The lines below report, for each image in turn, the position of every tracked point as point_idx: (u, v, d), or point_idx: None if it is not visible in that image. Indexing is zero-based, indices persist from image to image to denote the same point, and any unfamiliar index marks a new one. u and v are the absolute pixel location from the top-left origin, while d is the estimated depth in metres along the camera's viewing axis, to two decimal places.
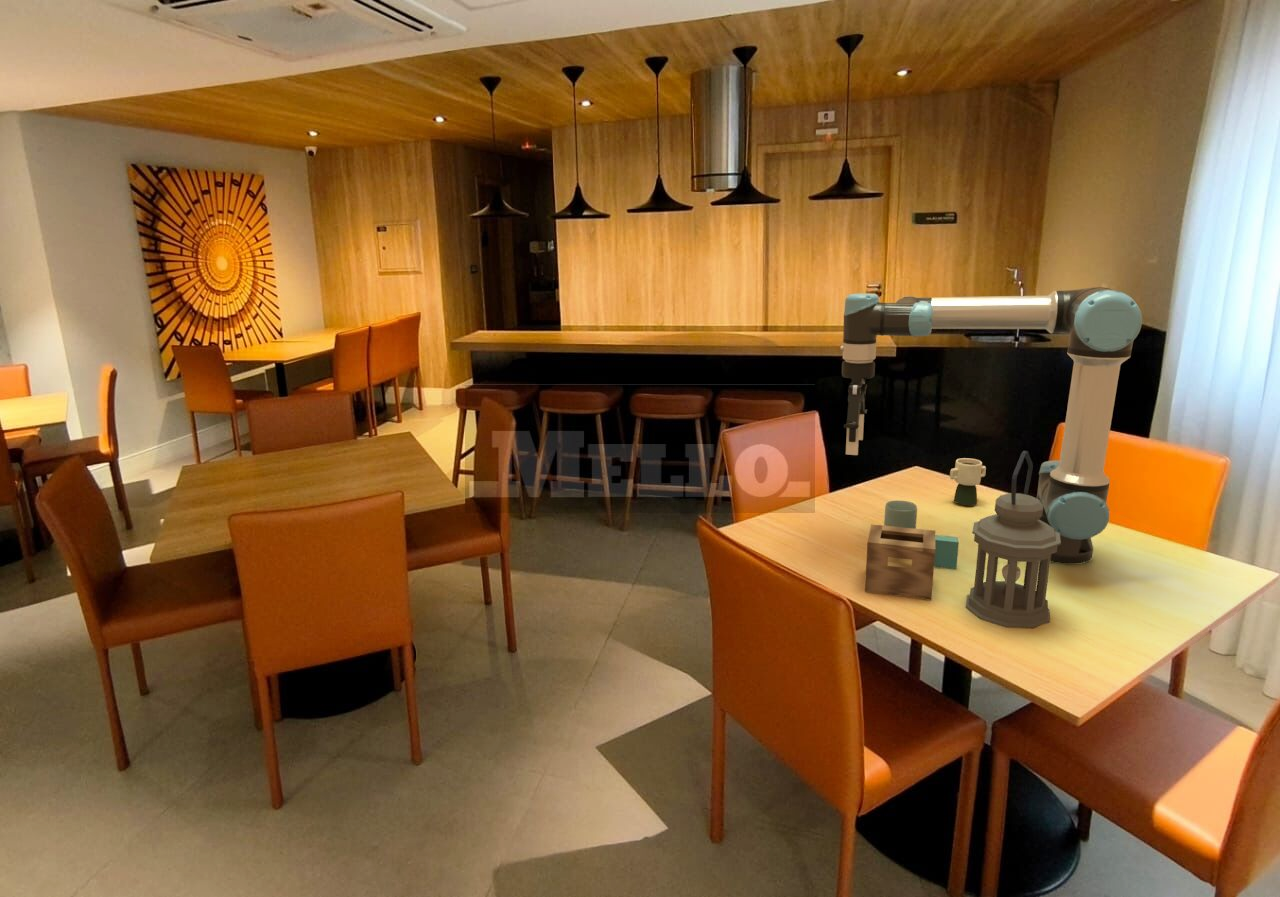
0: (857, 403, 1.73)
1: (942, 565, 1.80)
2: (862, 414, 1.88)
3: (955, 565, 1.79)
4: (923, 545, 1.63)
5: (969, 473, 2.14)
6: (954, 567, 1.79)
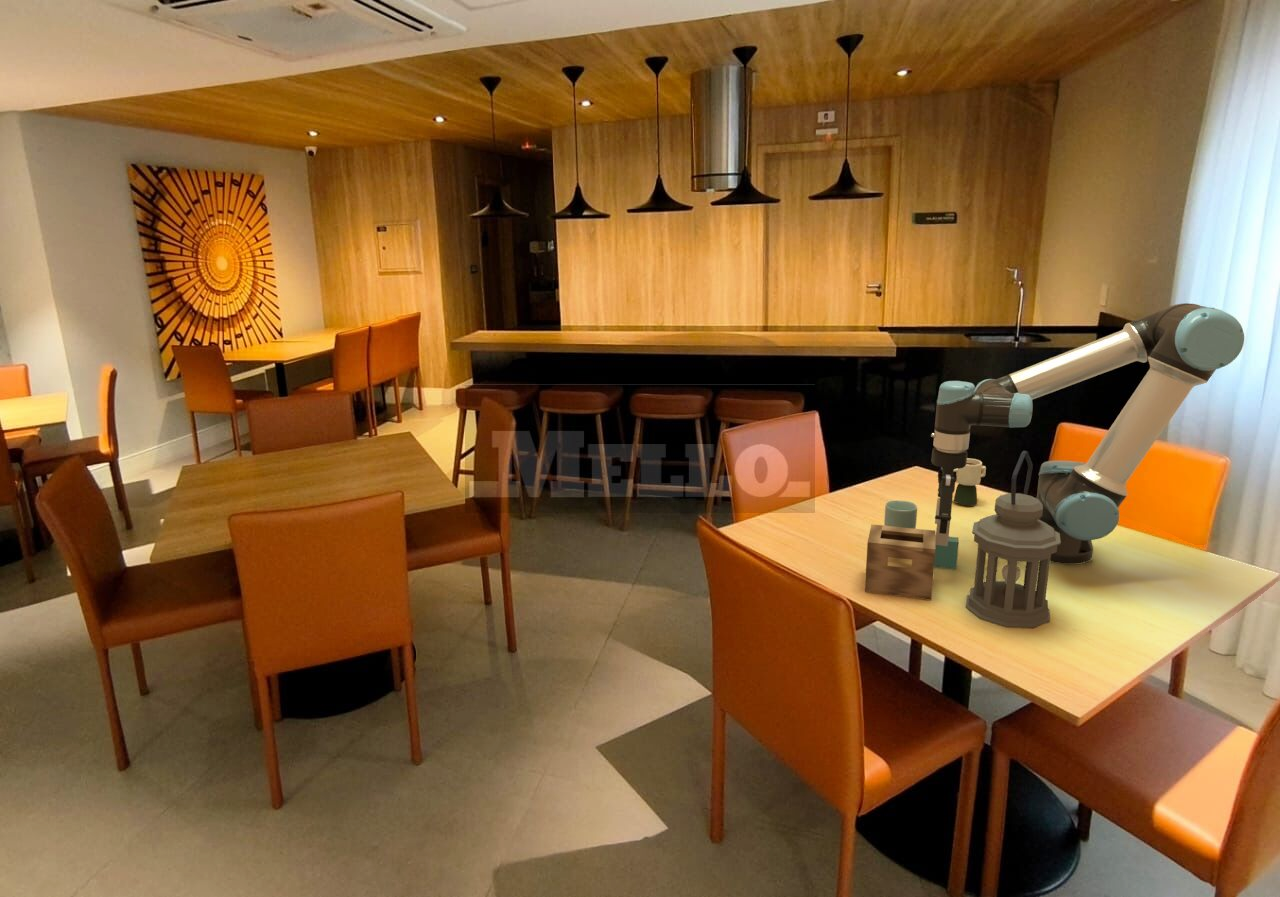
0: (950, 495, 1.68)
1: (942, 565, 1.80)
2: None
3: (955, 565, 1.79)
4: (923, 545, 1.63)
5: (969, 473, 2.14)
6: (954, 567, 1.79)
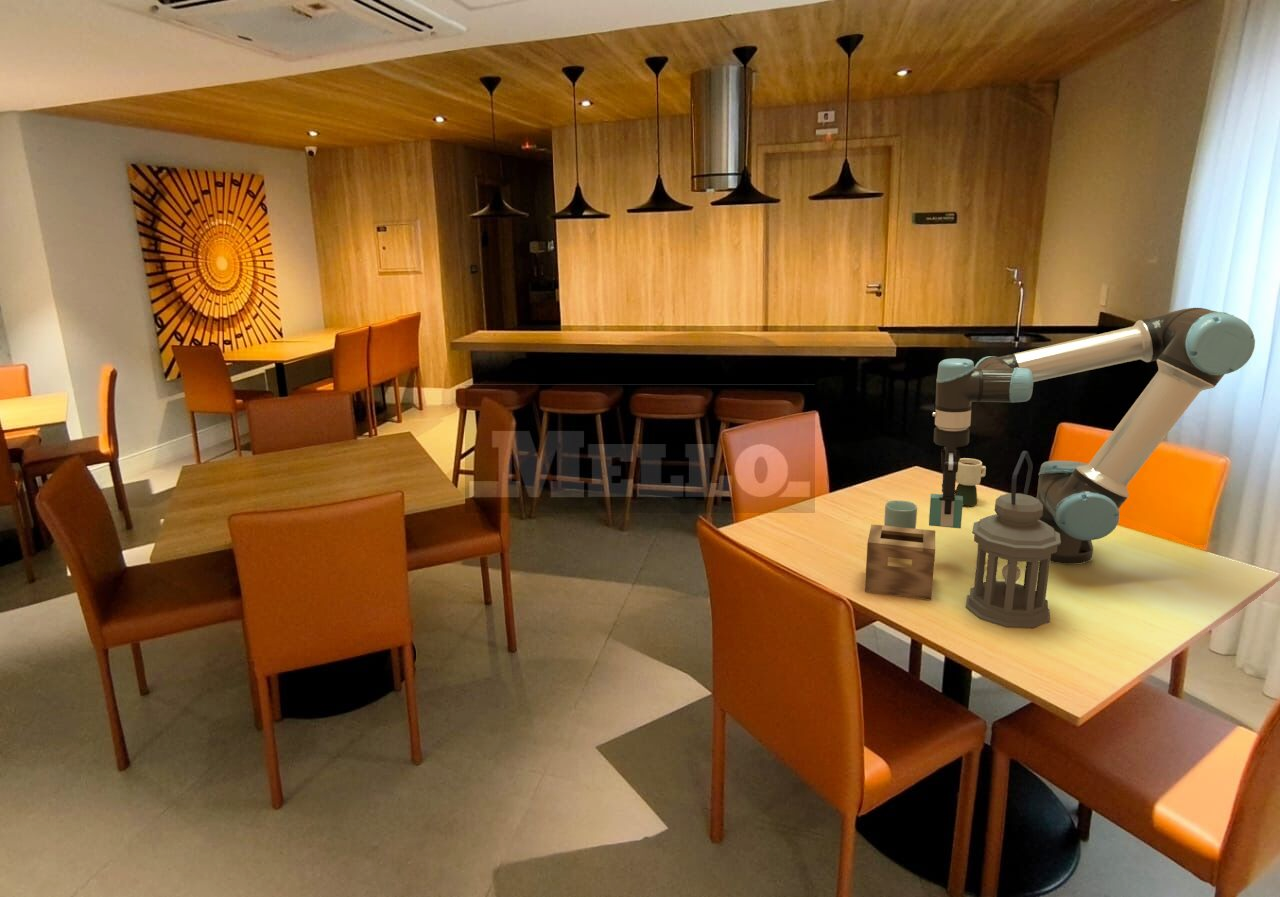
0: (953, 479, 1.69)
1: None
2: None
3: (959, 524, 1.76)
4: (923, 545, 1.63)
5: (969, 473, 2.14)
6: (958, 526, 1.76)
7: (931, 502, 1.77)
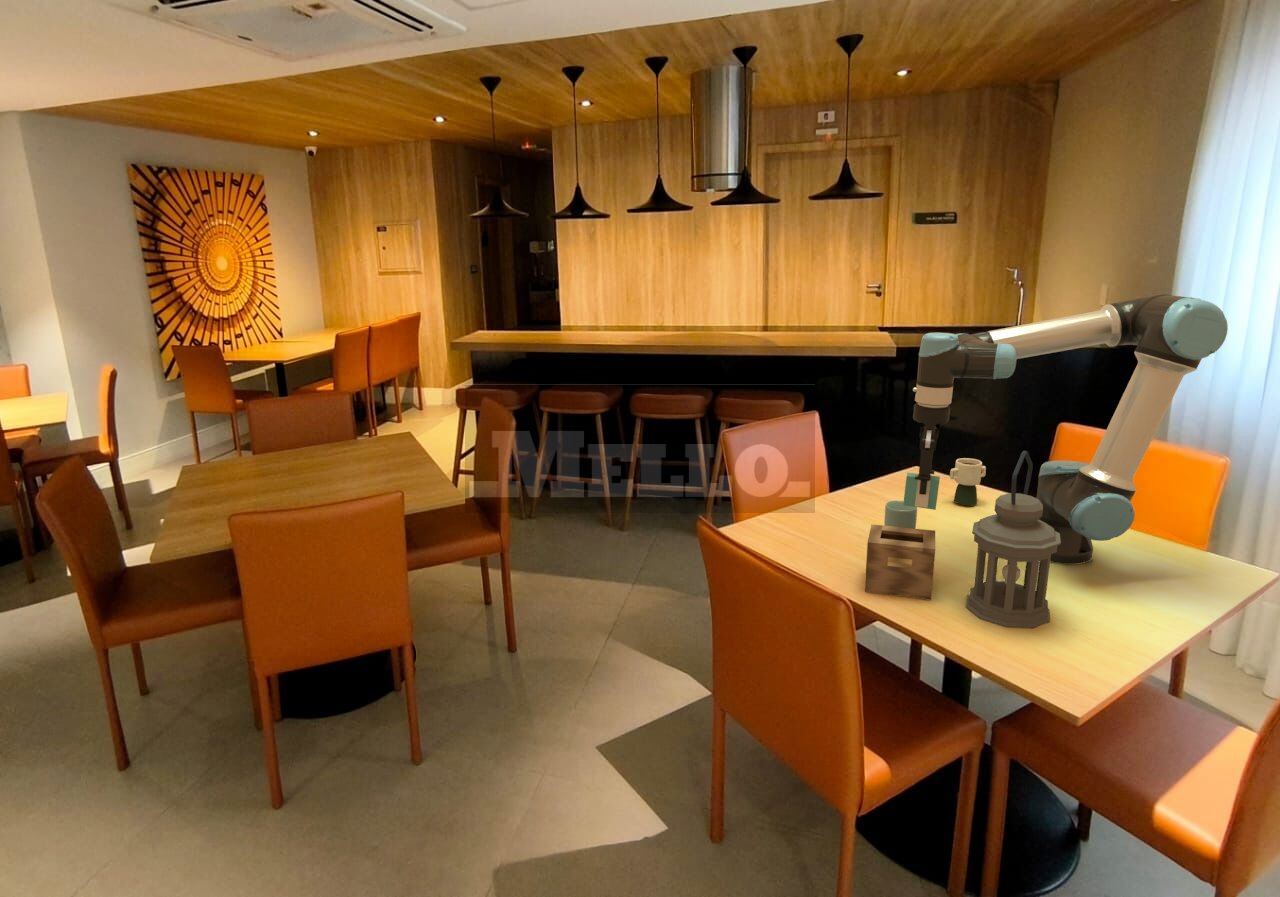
0: (930, 457, 1.63)
1: None
2: None
3: (934, 505, 1.70)
4: (923, 545, 1.63)
5: (969, 473, 2.14)
6: (933, 507, 1.70)
7: (907, 481, 1.71)
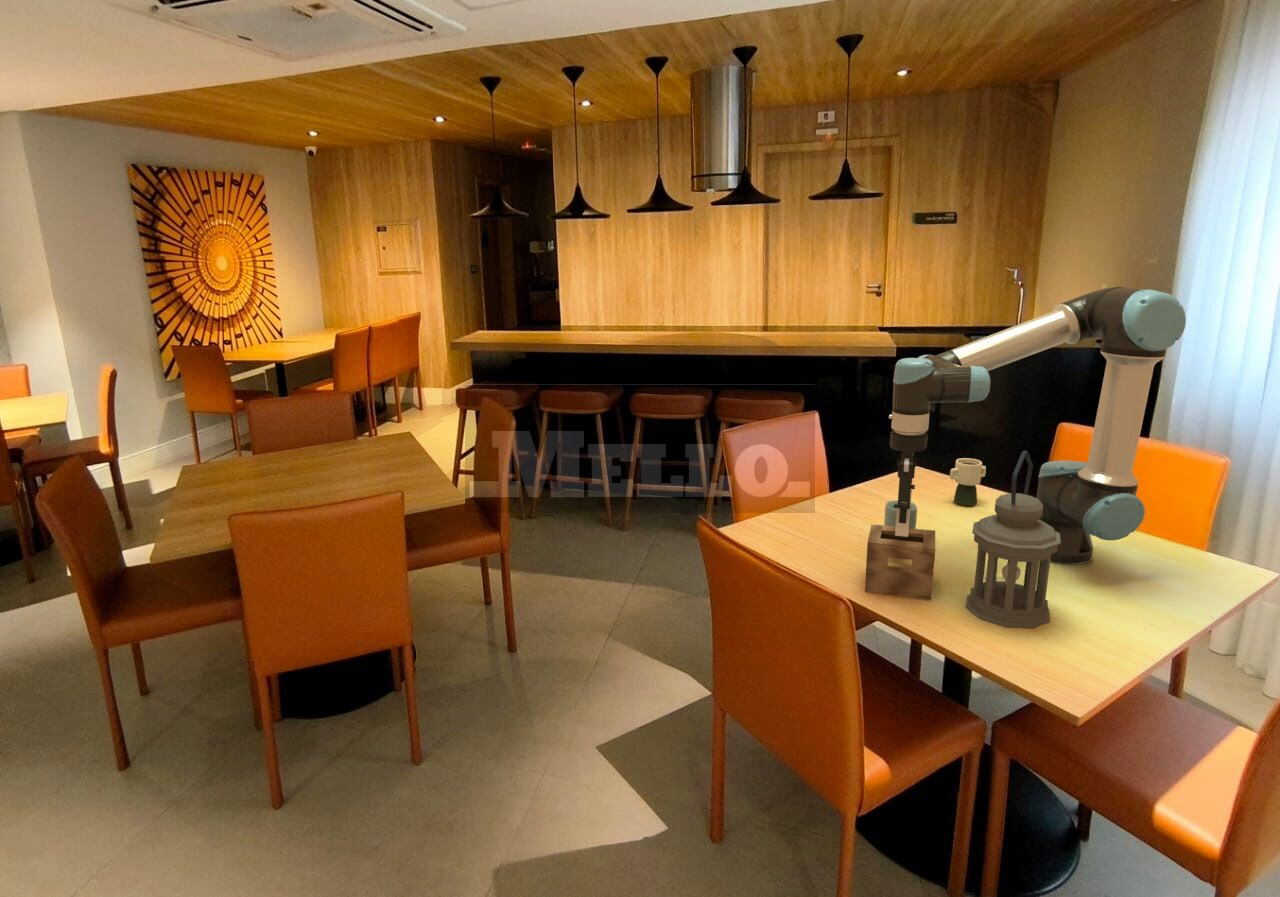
0: (909, 482, 1.57)
1: None
2: None
3: None
4: (923, 545, 1.63)
5: (969, 473, 2.14)
6: None
7: None
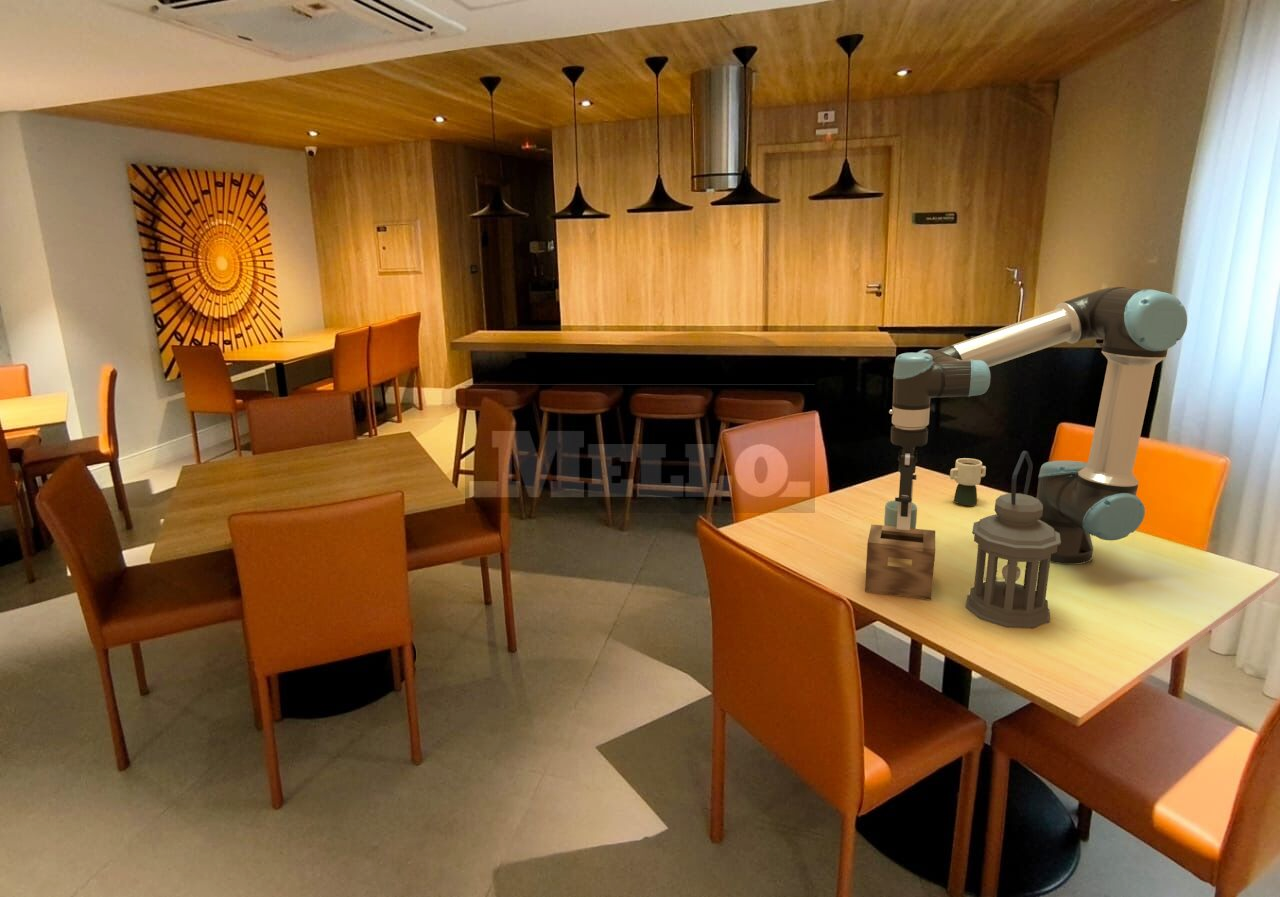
0: (910, 475, 1.57)
1: None
2: (911, 480, 1.71)
3: None
4: (923, 545, 1.63)
5: (969, 473, 2.14)
6: None
7: None
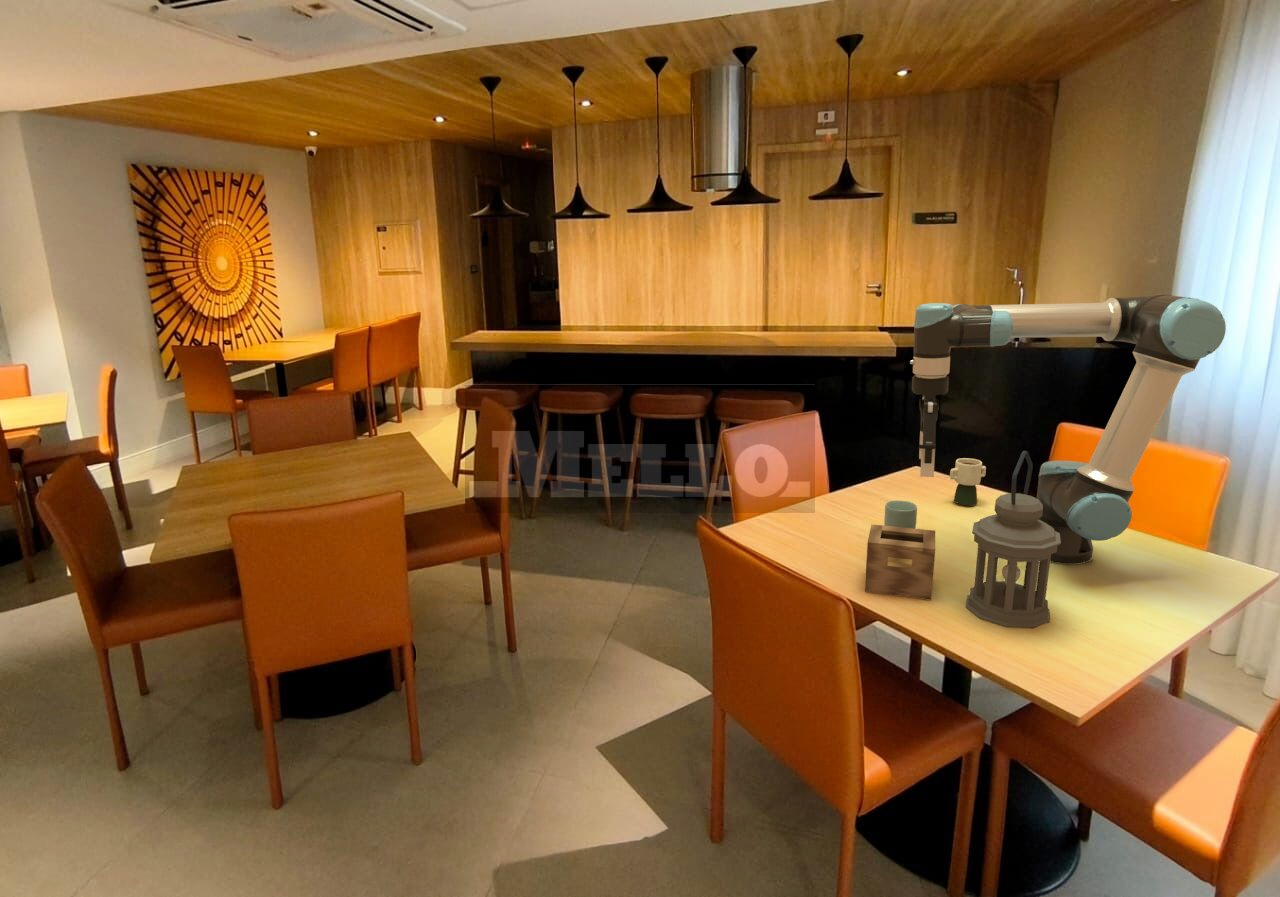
0: (934, 422, 1.60)
1: None
2: None
3: None
4: (923, 545, 1.63)
5: (969, 473, 2.14)
6: None
7: None
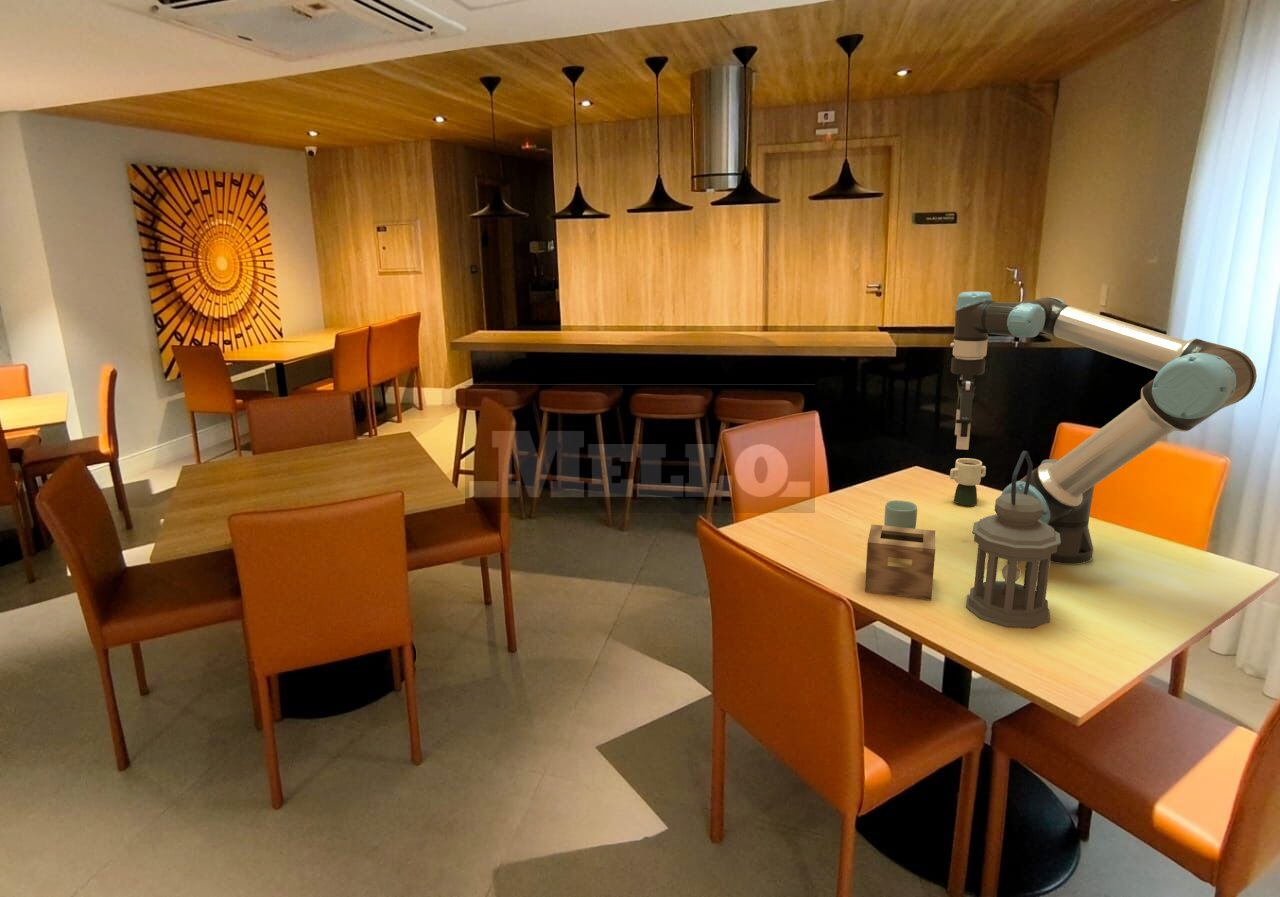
0: (970, 399, 1.76)
1: None
2: None
3: None
4: (923, 545, 1.63)
5: (969, 473, 2.14)
6: None
7: None
